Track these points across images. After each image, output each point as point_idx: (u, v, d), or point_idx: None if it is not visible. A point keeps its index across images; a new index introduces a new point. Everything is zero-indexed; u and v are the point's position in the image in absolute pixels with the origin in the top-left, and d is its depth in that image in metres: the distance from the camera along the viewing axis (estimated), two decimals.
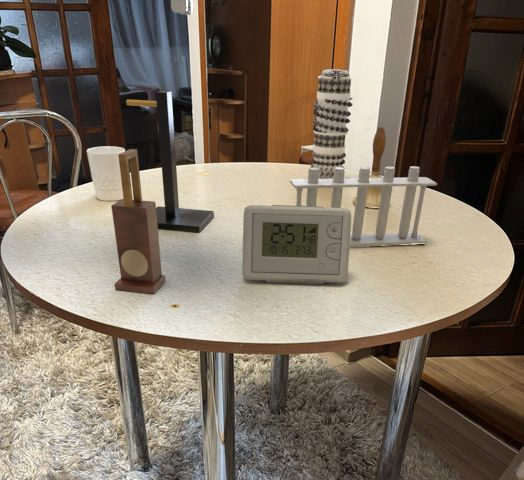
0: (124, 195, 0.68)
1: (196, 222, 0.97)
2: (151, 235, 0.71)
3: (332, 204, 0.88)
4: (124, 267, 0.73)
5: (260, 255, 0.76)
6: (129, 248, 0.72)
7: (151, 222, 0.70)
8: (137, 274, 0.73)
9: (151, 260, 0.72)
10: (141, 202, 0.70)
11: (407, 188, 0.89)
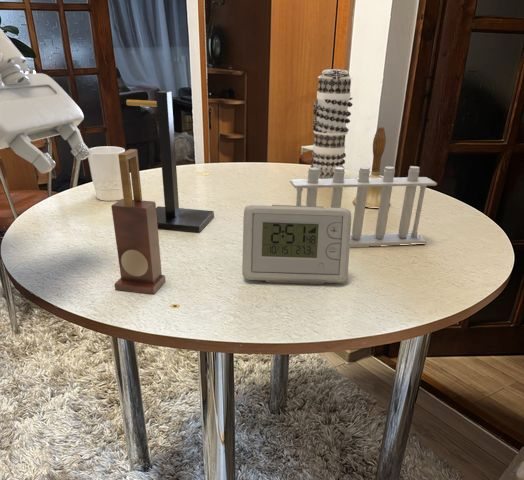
0: (124, 195, 0.68)
1: (196, 222, 0.97)
2: (151, 235, 0.71)
3: (332, 204, 0.88)
4: (124, 267, 0.73)
5: (260, 255, 0.76)
6: (129, 248, 0.72)
7: (151, 222, 0.70)
8: (137, 274, 0.73)
9: (151, 260, 0.72)
10: (141, 202, 0.70)
11: (407, 188, 0.89)
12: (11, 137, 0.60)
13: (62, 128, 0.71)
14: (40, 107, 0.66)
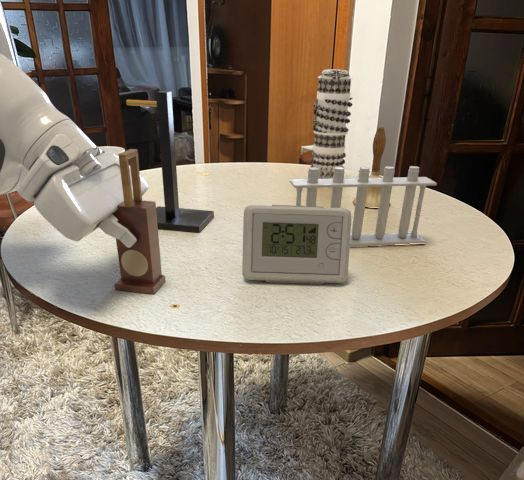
0: (124, 195, 0.68)
1: (196, 222, 0.97)
2: (151, 235, 0.71)
3: (332, 204, 0.88)
4: (124, 267, 0.73)
5: (260, 255, 0.76)
6: (129, 248, 0.72)
7: (151, 222, 0.70)
8: (137, 274, 0.73)
9: (151, 260, 0.72)
10: (141, 202, 0.70)
11: (407, 188, 0.89)
12: (93, 226, 0.64)
13: None
14: (112, 190, 0.70)
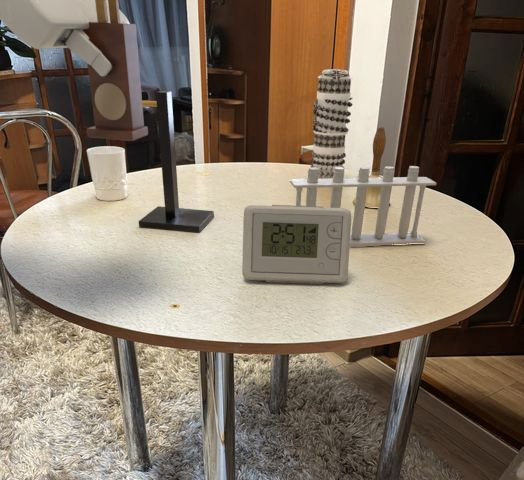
0: (97, 5, 0.56)
1: (196, 222, 0.97)
2: (130, 65, 0.60)
3: (332, 204, 0.88)
4: (98, 108, 0.62)
5: (260, 255, 0.76)
6: (104, 81, 0.60)
7: (130, 47, 0.59)
8: (113, 117, 0.62)
9: (130, 98, 0.61)
10: (119, 23, 0.59)
11: (406, 188, 0.89)
12: (56, 31, 0.53)
13: None
14: (84, 6, 0.59)
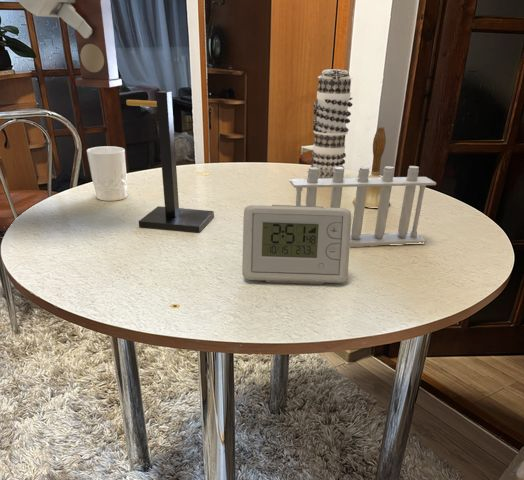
0: None
1: (196, 222, 0.97)
2: (106, 30, 0.80)
3: (331, 204, 0.88)
4: (83, 63, 0.83)
5: (260, 255, 0.76)
6: (87, 42, 0.81)
7: (106, 16, 0.80)
8: (95, 70, 0.83)
9: (107, 55, 0.82)
10: None
11: (406, 188, 0.89)
12: (51, 3, 0.74)
13: None
14: None
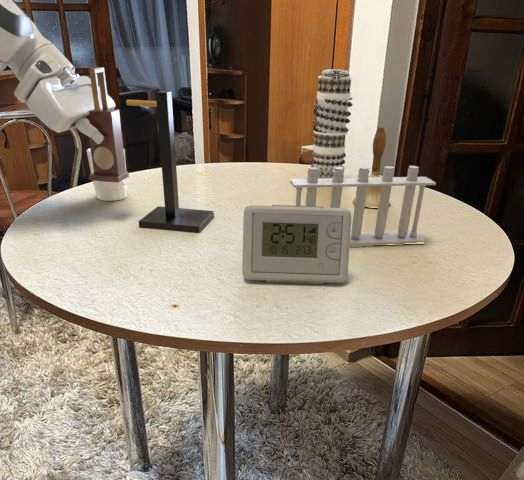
0: (94, 101, 0.90)
1: (196, 222, 0.97)
2: (116, 135, 0.94)
3: (331, 204, 0.88)
4: (96, 162, 0.96)
5: (260, 255, 0.76)
6: (99, 145, 0.94)
7: (115, 125, 0.93)
8: (106, 167, 0.96)
9: (116, 155, 0.95)
10: (108, 109, 0.93)
11: (406, 188, 0.89)
12: (70, 121, 0.87)
13: None
14: (86, 100, 0.93)
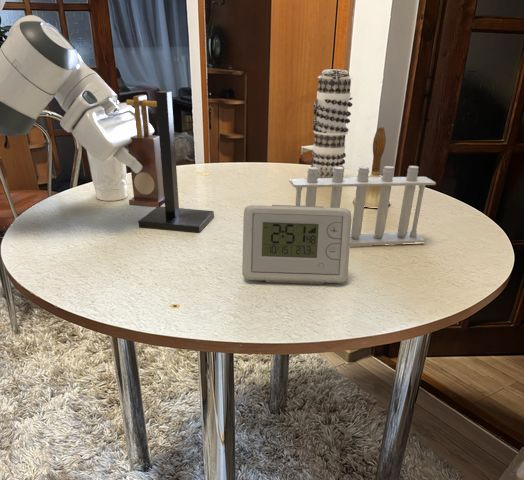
0: (137, 128, 0.91)
1: (196, 222, 0.97)
2: (157, 161, 0.94)
3: (331, 203, 0.88)
4: (136, 187, 0.97)
5: (260, 255, 0.76)
6: None
7: (157, 151, 0.94)
8: (146, 192, 0.97)
9: (157, 181, 0.96)
10: (149, 136, 0.94)
11: (406, 187, 0.89)
12: (115, 150, 0.88)
13: None
14: (128, 128, 0.94)
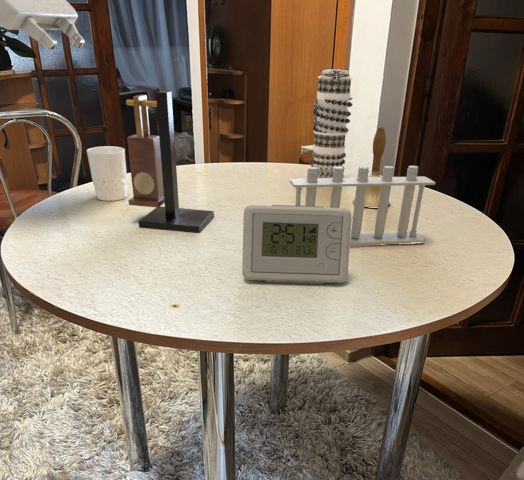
0: (137, 128, 0.91)
1: (196, 222, 0.97)
2: (156, 161, 0.94)
3: (331, 203, 0.88)
4: (136, 187, 0.97)
5: (260, 255, 0.76)
6: (140, 171, 0.95)
7: (156, 151, 0.94)
8: (146, 192, 0.97)
9: (156, 181, 0.96)
10: (149, 136, 0.94)
11: (406, 187, 0.89)
12: (21, 17, 0.80)
13: (61, 23, 0.91)
14: (42, 1, 0.86)
